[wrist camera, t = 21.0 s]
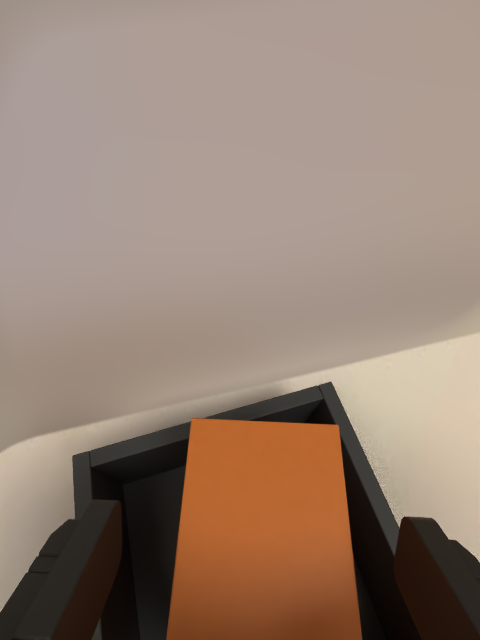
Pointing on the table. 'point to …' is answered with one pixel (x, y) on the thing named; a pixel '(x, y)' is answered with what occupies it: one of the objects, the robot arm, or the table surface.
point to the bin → (165, 508)
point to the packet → (264, 535)
